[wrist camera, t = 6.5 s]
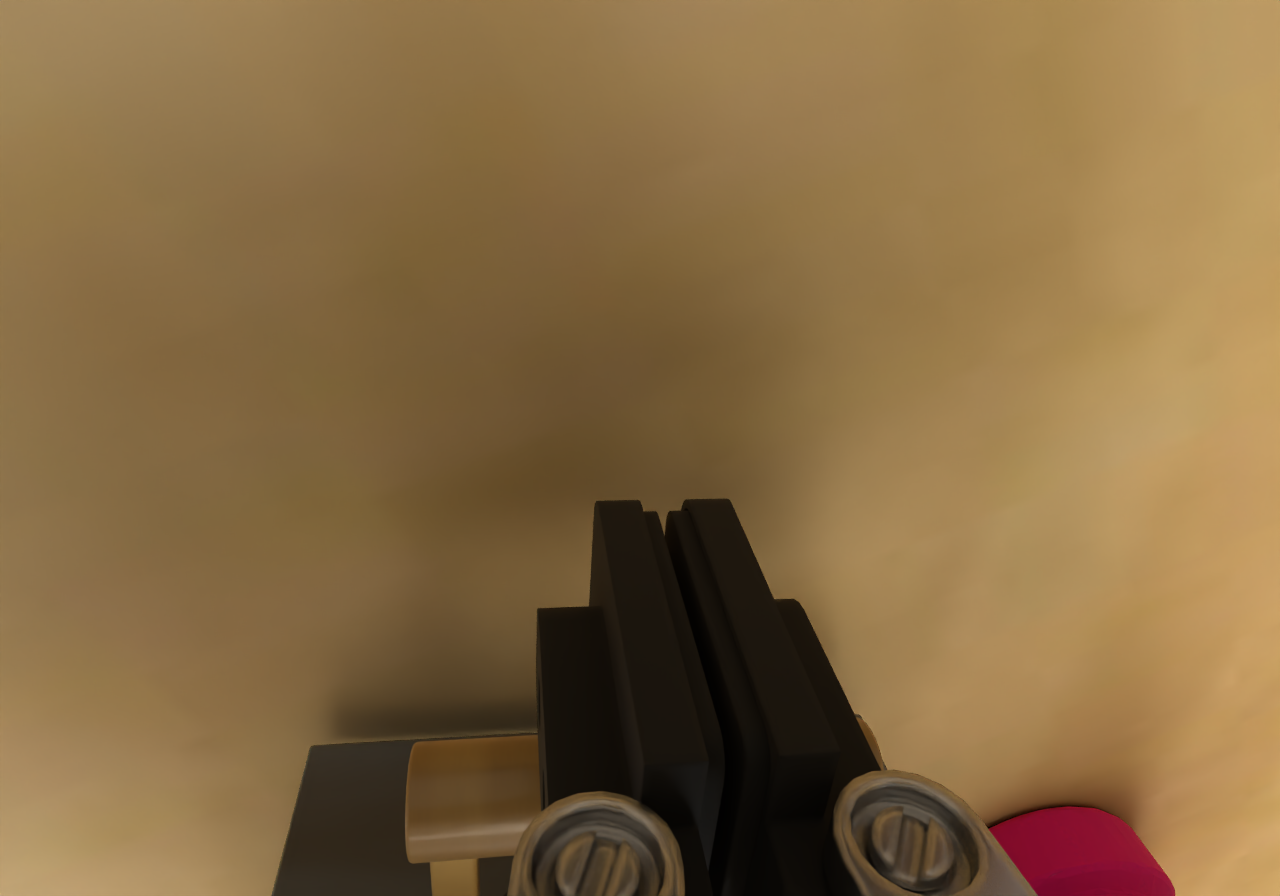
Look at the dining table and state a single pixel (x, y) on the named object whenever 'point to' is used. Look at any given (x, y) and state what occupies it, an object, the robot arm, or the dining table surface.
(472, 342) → the dining table surface
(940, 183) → the dining table surface
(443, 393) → the dining table surface
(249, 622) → the dining table surface
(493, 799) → the drawer
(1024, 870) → the pepper mill
